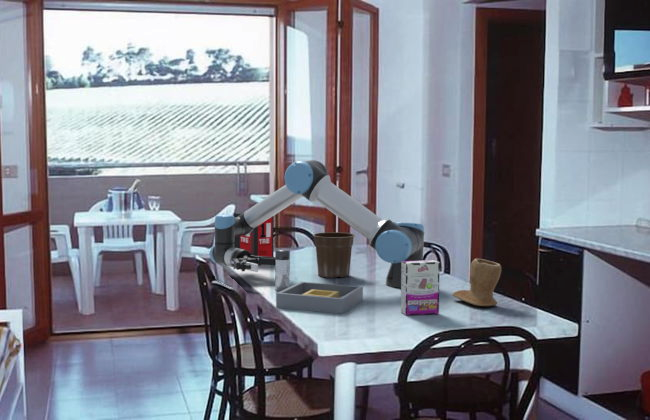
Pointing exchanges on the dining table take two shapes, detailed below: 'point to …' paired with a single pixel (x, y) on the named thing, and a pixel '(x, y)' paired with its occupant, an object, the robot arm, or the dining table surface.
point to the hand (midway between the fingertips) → (272, 266)
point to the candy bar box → (420, 287)
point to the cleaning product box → (258, 239)
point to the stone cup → (481, 283)
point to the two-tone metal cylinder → (282, 269)
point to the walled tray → (319, 297)
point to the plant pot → (333, 253)
